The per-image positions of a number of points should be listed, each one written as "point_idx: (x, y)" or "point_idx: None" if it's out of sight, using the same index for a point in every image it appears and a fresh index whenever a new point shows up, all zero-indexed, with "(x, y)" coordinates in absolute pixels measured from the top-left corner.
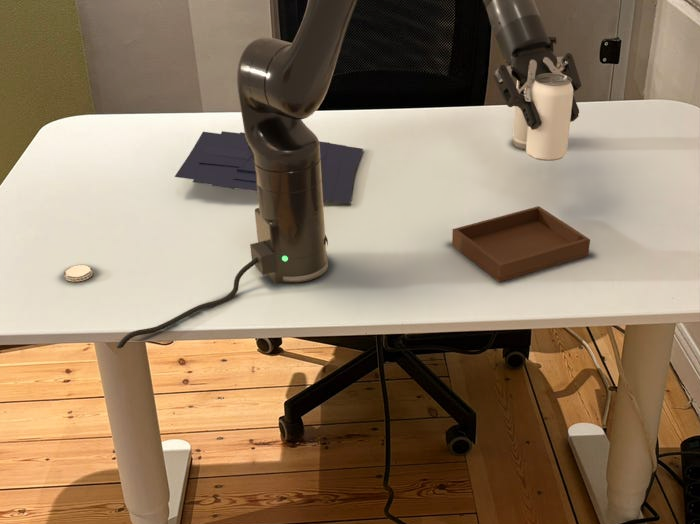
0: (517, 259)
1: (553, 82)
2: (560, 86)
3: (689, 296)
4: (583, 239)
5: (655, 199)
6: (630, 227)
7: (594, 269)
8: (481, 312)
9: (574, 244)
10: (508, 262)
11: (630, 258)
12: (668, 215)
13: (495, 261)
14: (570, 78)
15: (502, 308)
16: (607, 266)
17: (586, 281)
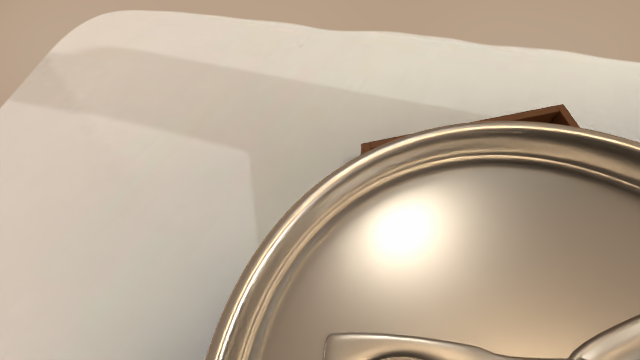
0: (526, 113)
1: (563, 334)
2: (485, 144)
3: (278, 45)
4: (374, 145)
5: (76, 350)
6: (224, 237)
7: (369, 125)
8: (584, 67)
9: (398, 137)
10: (545, 108)
11: (294, 139)
12: (118, 262)
13: (571, 116)
14: (224, 341)
15: (549, 69)
16: (344, 127)
17: (397, 99)
